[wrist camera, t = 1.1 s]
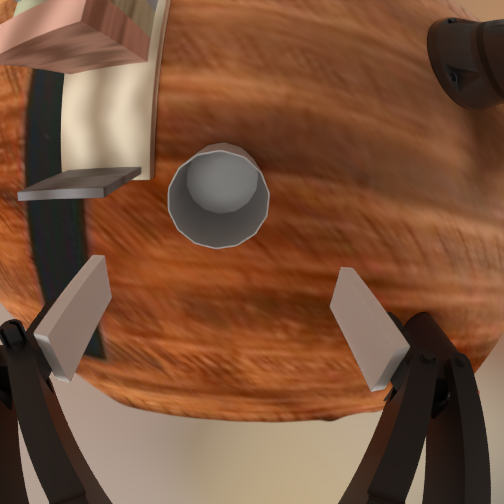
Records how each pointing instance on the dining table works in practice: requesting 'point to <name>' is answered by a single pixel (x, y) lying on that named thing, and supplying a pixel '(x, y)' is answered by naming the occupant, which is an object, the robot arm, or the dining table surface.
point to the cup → (218, 197)
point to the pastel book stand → (94, 86)
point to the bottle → (430, 336)
